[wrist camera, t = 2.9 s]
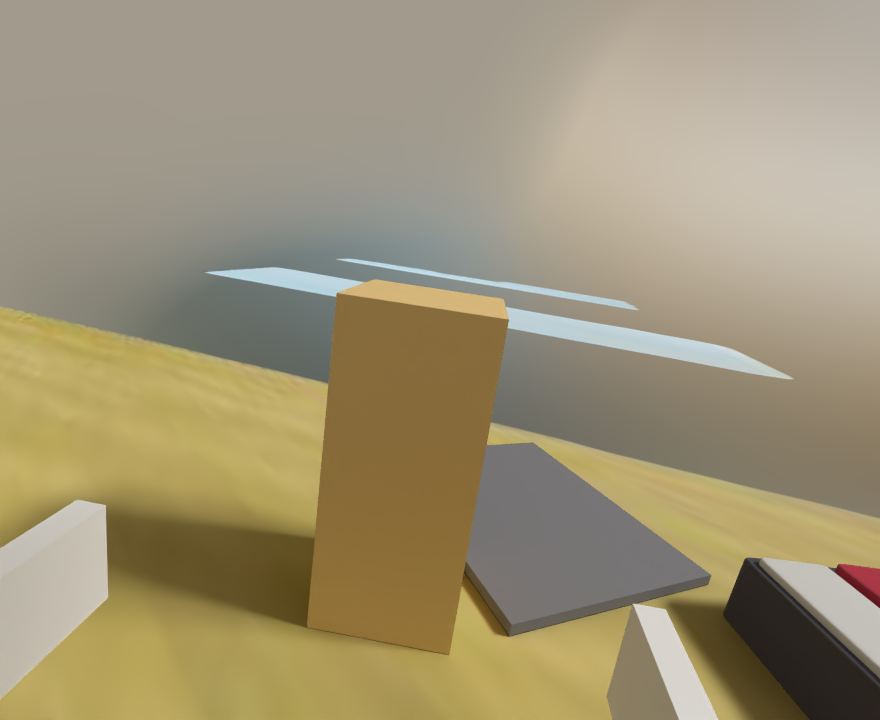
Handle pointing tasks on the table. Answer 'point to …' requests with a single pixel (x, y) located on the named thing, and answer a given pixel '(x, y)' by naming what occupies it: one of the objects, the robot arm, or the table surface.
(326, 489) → the ochre block
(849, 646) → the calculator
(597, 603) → the charcoal mat
